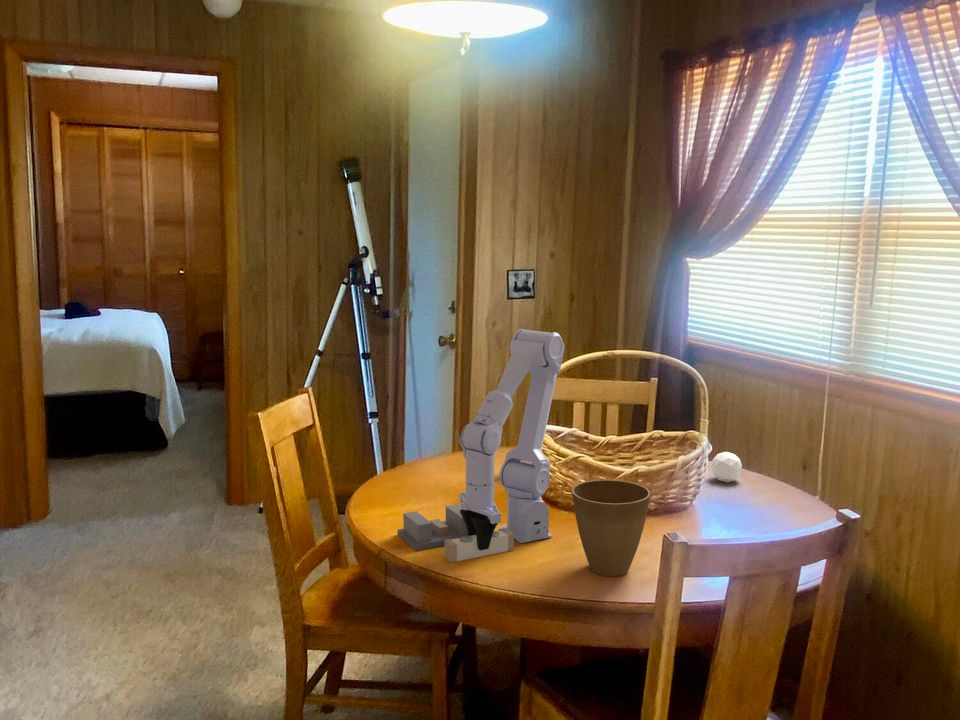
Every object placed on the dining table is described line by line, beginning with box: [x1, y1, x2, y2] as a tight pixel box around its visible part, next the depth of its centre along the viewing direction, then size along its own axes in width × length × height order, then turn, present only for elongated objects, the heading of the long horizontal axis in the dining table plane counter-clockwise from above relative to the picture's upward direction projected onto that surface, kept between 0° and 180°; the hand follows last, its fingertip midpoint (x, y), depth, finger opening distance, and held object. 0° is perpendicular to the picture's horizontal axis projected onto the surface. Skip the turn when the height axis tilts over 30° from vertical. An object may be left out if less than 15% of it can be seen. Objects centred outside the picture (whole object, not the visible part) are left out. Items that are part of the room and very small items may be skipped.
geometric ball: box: [710, 451, 743, 483], centre depth 222 cm, size 8×8×8 cm
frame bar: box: [443, 529, 515, 563], centre depth 174 cm, size 3×14×4 cm, turn 118°
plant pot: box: [571, 479, 651, 577], centre depth 166 cm, size 15×15×16 cm
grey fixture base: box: [396, 504, 468, 551], centre depth 182 cm, size 15×10×5 cm, turn 118°
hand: (479, 546), depth 174 cm, fingers closed on frame bar, 3 cm apart
